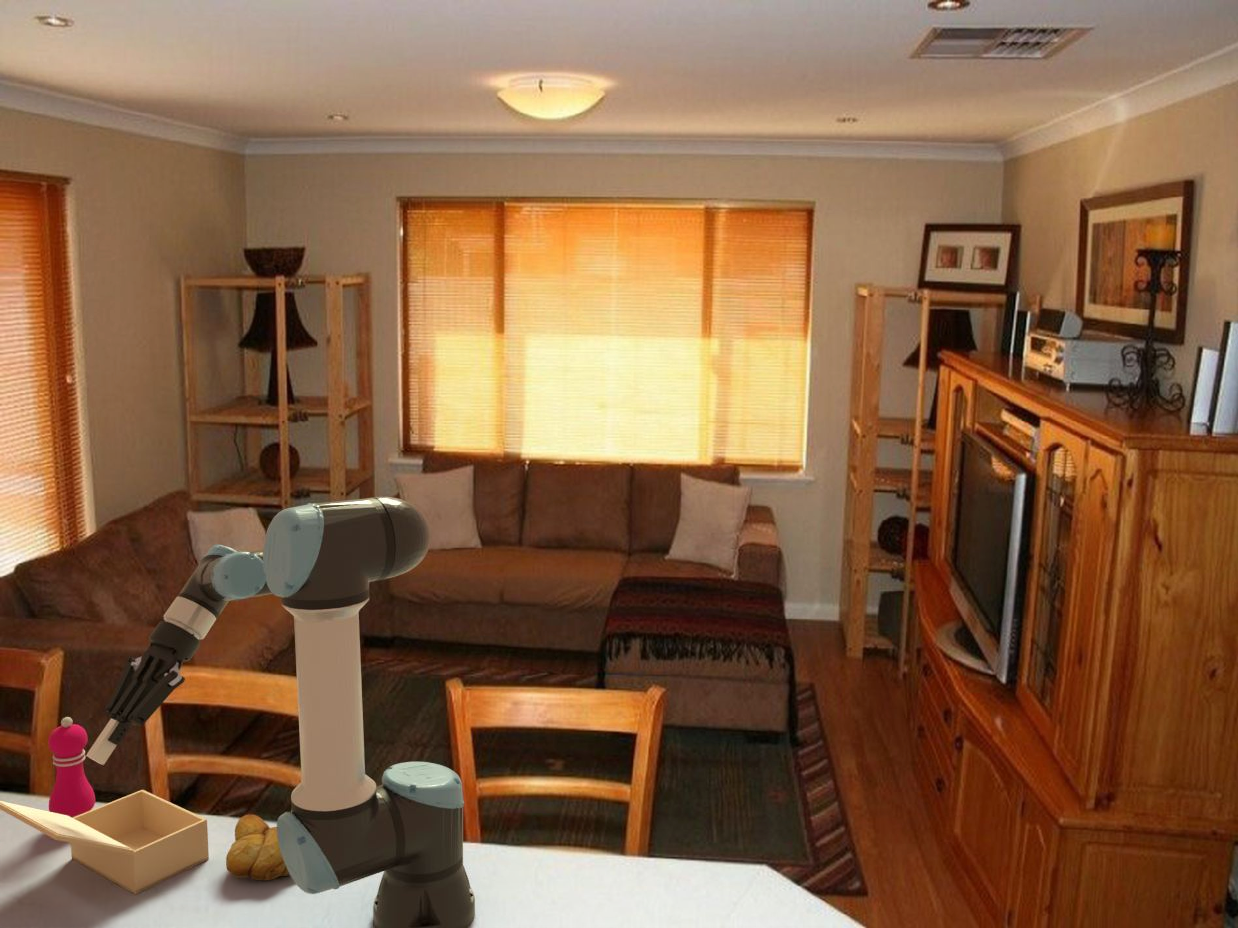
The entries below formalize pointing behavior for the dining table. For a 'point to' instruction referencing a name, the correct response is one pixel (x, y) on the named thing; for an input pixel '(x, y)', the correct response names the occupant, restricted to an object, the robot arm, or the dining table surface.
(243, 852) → the bread roll
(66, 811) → the pepper mill
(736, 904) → the dining table surface
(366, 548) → the robot arm
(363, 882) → the dining table surface
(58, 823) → the lid
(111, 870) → the mailer box
